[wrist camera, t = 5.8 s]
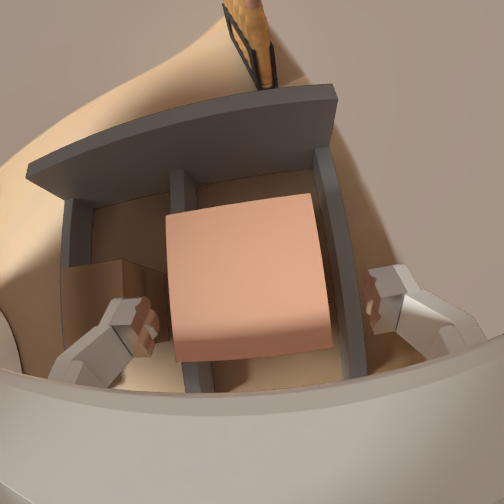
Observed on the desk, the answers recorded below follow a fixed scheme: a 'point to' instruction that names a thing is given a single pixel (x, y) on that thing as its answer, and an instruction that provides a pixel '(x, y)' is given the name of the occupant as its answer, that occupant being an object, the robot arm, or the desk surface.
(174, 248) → the terracotta block
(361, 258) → the desk surface
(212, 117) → the lane rack
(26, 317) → the desk surface
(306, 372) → the desk surface
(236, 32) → the ammunition clip
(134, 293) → the walnut block
